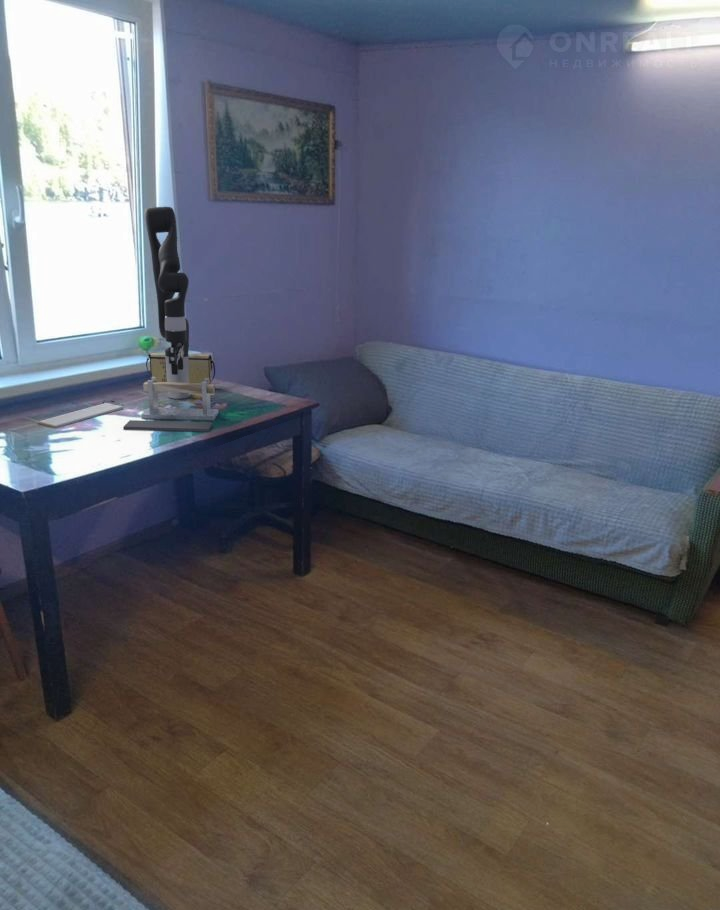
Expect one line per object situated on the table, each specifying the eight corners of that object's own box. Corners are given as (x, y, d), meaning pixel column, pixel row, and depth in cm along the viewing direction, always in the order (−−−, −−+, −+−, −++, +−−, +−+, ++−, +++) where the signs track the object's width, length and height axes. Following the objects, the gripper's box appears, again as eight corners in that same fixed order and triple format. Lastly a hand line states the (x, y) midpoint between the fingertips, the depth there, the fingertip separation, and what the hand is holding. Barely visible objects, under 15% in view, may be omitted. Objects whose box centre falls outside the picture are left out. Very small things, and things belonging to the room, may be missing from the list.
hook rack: (148, 410, 272) (146, 375, 267) (218, 412, 273) (217, 377, 268) (141, 418, 263) (138, 381, 258) (213, 420, 263) (212, 384, 259)
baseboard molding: (33, 423, 254) (55, 429, 248) (32, 416, 253) (54, 422, 247) (102, 405, 280) (123, 410, 274) (101, 398, 279) (122, 403, 273)
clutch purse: (217, 385, 314) (215, 352, 309) (214, 389, 307) (213, 355, 302) (150, 383, 312) (147, 350, 307) (146, 387, 306) (143, 353, 301)
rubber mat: (130, 422, 257) (129, 420, 257) (212, 425, 258) (212, 422, 257) (123, 429, 249) (123, 426, 249) (208, 431, 250) (208, 429, 250)
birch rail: (145, 389, 266) (145, 381, 265) (214, 391, 266) (214, 383, 265) (143, 391, 263) (143, 383, 262) (213, 393, 263) (213, 385, 262)
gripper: (170, 325, 263) (172, 367, 268) (160, 331, 250) (162, 375, 255) (190, 326, 263) (191, 368, 269) (181, 331, 250) (183, 376, 255)
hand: (177, 372), depth 262 cm, fingers open, 8 cm apart
